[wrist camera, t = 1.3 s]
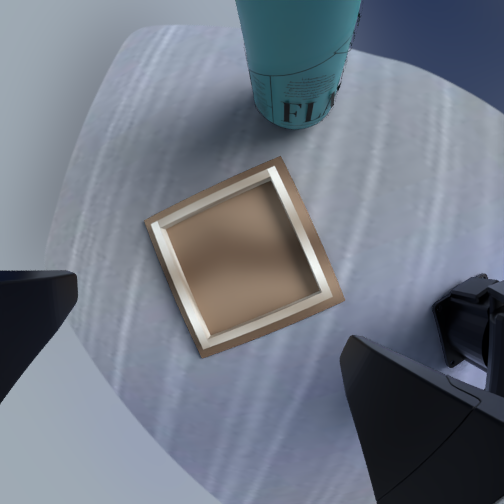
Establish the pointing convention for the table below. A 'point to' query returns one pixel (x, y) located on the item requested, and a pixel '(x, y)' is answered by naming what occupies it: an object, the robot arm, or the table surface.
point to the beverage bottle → (296, 55)
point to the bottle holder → (243, 258)
